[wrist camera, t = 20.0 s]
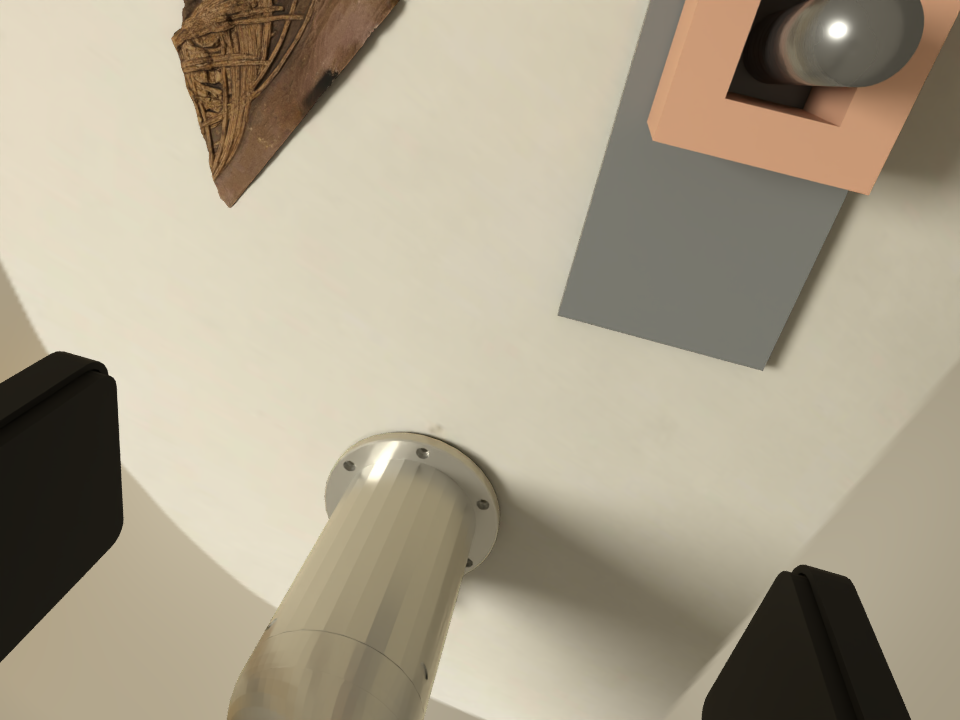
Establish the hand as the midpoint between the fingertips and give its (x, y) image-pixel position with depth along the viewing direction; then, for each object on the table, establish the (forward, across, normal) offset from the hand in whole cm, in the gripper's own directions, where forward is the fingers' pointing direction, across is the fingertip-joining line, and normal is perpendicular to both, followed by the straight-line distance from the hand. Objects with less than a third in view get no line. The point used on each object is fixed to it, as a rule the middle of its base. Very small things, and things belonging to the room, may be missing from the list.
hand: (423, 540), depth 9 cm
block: (+29, -8, -7) cm, 31 cm away
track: (+30, -8, -4) cm, 32 cm away
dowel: (+29, -8, -7) cm, 31 cm away
